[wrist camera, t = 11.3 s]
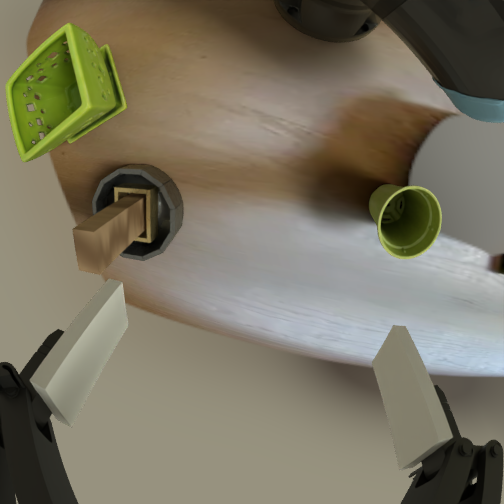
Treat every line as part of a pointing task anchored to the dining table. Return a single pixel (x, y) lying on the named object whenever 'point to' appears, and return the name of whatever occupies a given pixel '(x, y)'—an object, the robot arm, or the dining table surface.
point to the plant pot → (405, 219)
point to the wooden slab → (109, 232)
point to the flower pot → (63, 92)
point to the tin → (157, 206)
